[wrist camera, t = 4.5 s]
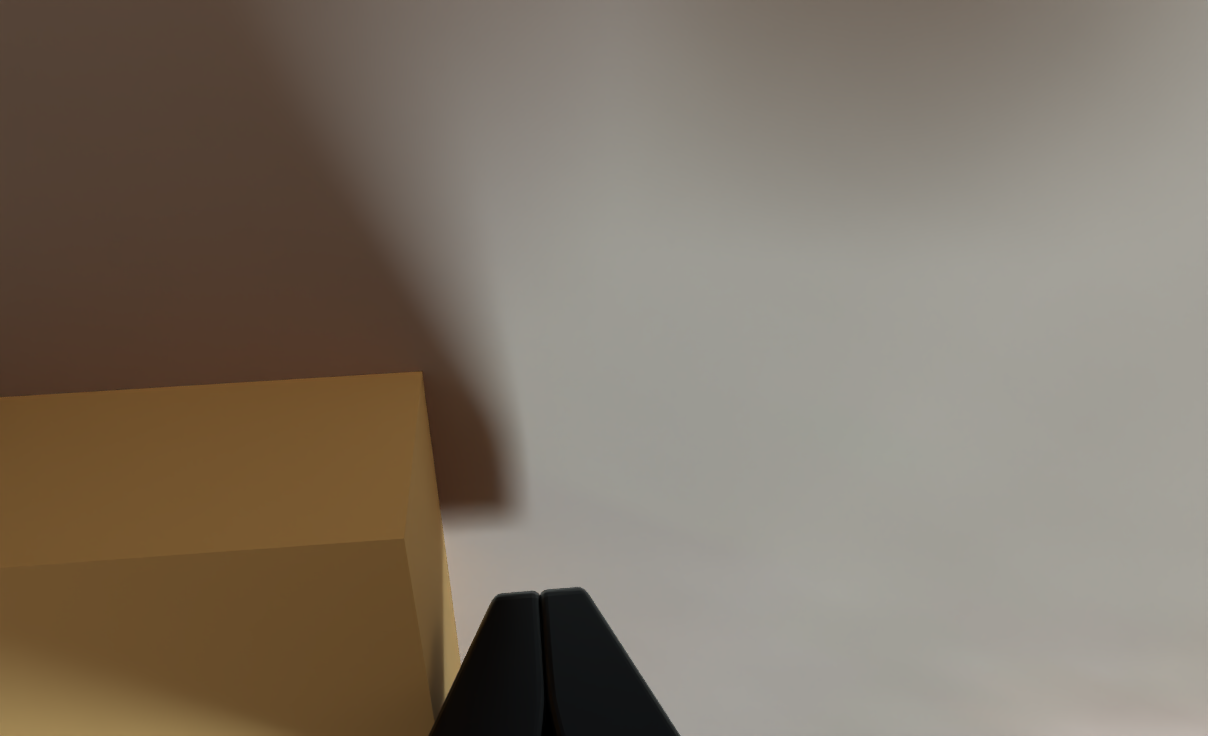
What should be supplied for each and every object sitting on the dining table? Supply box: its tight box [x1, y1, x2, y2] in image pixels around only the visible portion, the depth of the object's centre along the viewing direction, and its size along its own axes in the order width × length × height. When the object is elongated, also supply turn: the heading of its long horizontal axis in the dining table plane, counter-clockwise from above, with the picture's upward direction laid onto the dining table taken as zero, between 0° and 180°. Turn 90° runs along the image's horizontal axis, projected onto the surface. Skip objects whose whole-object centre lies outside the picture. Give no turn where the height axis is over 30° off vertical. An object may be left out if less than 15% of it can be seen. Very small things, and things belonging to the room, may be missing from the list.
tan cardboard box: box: [0, 371, 461, 736], centre depth 9 cm, size 5×4×2 cm
